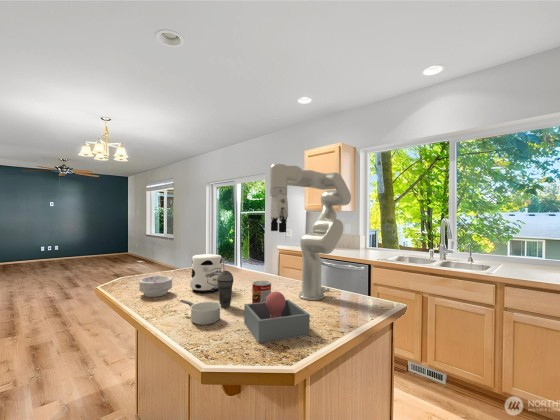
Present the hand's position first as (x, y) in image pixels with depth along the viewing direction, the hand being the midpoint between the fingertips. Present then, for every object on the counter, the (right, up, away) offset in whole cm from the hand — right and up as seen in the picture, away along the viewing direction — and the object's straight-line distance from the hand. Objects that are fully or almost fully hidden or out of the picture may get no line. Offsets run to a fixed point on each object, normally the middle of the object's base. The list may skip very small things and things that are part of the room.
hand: (278, 231), depth 125 cm
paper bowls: (-62, -33, +18) cm, 72 cm away
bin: (-1, -33, -23) cm, 40 cm away
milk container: (-39, -34, +28) cm, 59 cm away
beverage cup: (-24, -33, +1) cm, 41 cm away
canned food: (-7, -33, -5) cm, 35 cm away
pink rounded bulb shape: (-1, -32, -23) cm, 39 cm away
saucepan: (-31, -33, -14) cm, 48 cm away
